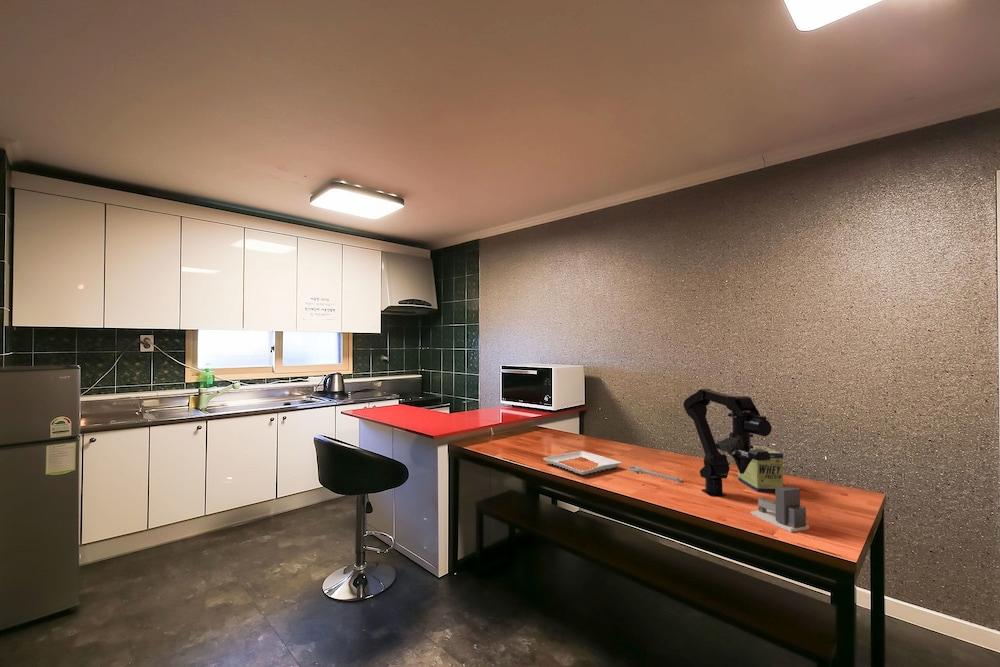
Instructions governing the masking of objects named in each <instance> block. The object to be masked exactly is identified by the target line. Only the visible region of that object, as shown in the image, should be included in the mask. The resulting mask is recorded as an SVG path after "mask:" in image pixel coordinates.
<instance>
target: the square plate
mask: <svg viewBox="0 0 1000 667" xmlns="http://www.w3.org/2000/svg"><path fill="white" fill-rule="evenodd" d="M579 457H583V458H586V459H588V460H590V461H593V462H595V463H598V466H597V467H595V468H592V469H589V470H586V471H583V470H582V471H580V470H577V469H574V468H572V467H570V466H567V465H565V464H562V463H559V461H564V460H569V459H575V458H579ZM542 459H543V460H544V461H545V462H546V463H548V464H550V465H552V464H553V465H552V466H555V465H556V466H555V467H557V466H559V467H558V468H560V467H562V468H561V469H563V468H565V469H564V470H566V469H568V470H567V471H569V470H570V471H569V472H571V471H573V472H572V473H574V472H575V474H577V473H578V474H579V475H590V474H589V473H591V474H594V473H593V472H595V473H598V472H597V471H599V472H602V471H601V470H604V471H607V470H606V469H608V470H610V469H613V468H617V467H619V466H621V464H622V461H618V460H617V459H613V458H609V457H606V456H602V455H599V454H597V453H596V454H595V453H592V452H588V451H583V450H579V451H574V452H566V453H560V454H556V455H550V456H546V457H543V458H542ZM578 474H577V475H578Z"/></svg>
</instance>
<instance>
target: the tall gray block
mask: <svg viewBox="0 0 1000 667" xmlns="http://www.w3.org/2000/svg"><path fill="white" fill-rule="evenodd" d="M774 494H775V497H774V498H775V501H774V502H775V503H776V521H778V522H781V523H783V524H787V506H792V505H800V506H801V488H798V487H795V486H793V485H789V486H788V485H787V486H783V487H778V488H775V492H774Z"/></svg>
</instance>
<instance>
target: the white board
mask: <svg viewBox="0 0 1000 667" xmlns="http://www.w3.org/2000/svg"><path fill="white" fill-rule="evenodd" d="M750 515H752V516H753V517H756V518H758V519H760V520H763V521H764V522H767V523H769V524H772V525H774V526H776V527H779V528H781V529H783V530H785V531H787V532H790V533H792V532H801V531H807V530H810V525H809V524H806V527H800V528H792V527H790V526H788V525H787V524H783V523H781V522H778V521H776V512H773V511H771V510H768V509H767V512H763V513H762V512H760V511H759V509H757V510H752V511H750Z"/></svg>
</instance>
